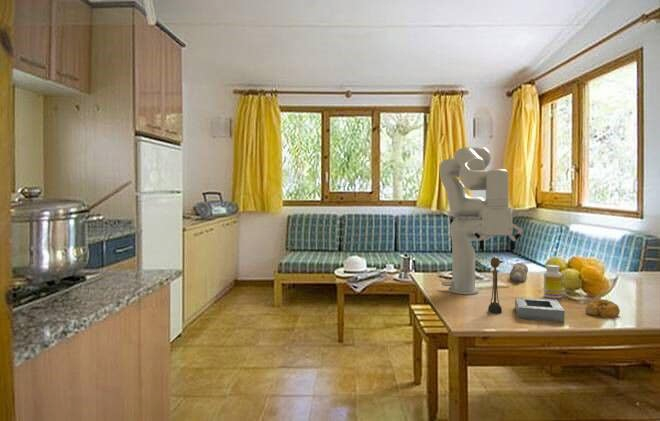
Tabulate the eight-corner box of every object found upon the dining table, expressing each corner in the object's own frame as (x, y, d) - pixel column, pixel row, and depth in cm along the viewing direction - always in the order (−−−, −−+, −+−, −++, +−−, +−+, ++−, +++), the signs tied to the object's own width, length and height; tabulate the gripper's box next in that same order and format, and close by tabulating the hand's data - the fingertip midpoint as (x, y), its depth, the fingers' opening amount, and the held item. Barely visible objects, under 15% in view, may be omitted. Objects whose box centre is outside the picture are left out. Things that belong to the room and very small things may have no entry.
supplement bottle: (563, 299, 178) (564, 267, 177) (546, 298, 179) (546, 267, 179) (558, 295, 185) (559, 264, 184) (541, 294, 186) (542, 264, 185)
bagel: (577, 310, 162) (578, 297, 161) (606, 310, 162) (607, 297, 162) (596, 319, 152) (596, 305, 151) (626, 318, 152) (627, 304, 152)
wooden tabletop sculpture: (495, 309, 164) (496, 255, 163) (506, 311, 160) (507, 256, 159) (485, 311, 161) (485, 256, 160) (496, 314, 157) (496, 258, 156)
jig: (518, 319, 151) (518, 307, 151) (514, 307, 166) (515, 297, 165) (564, 322, 147) (564, 310, 147) (556, 310, 161) (556, 299, 161)
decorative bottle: (512, 274, 231) (512, 262, 231) (528, 276, 227) (528, 263, 227) (507, 284, 208) (507, 270, 208) (524, 285, 204) (525, 271, 204)
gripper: (471, 204, 158) (471, 252, 158) (524, 204, 153) (524, 253, 153) (471, 204, 165) (471, 249, 165) (522, 203, 160) (522, 251, 160)
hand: (496, 251), depth 159 cm, fingers open, 9 cm apart
